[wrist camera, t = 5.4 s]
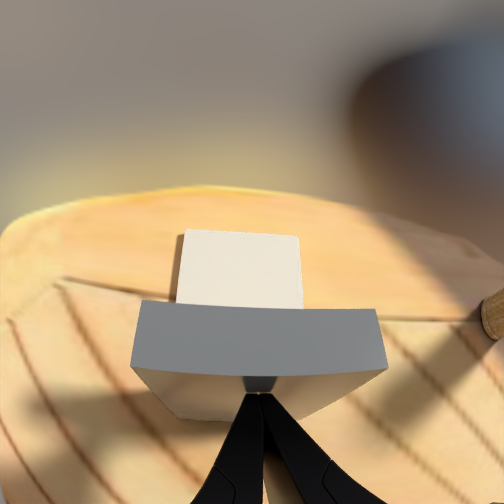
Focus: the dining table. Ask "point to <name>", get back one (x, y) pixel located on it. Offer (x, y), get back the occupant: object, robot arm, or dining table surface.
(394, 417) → the dining table surface
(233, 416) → the slate tile
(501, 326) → the sprinkles bottle
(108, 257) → the dining table surface
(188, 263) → the plate
